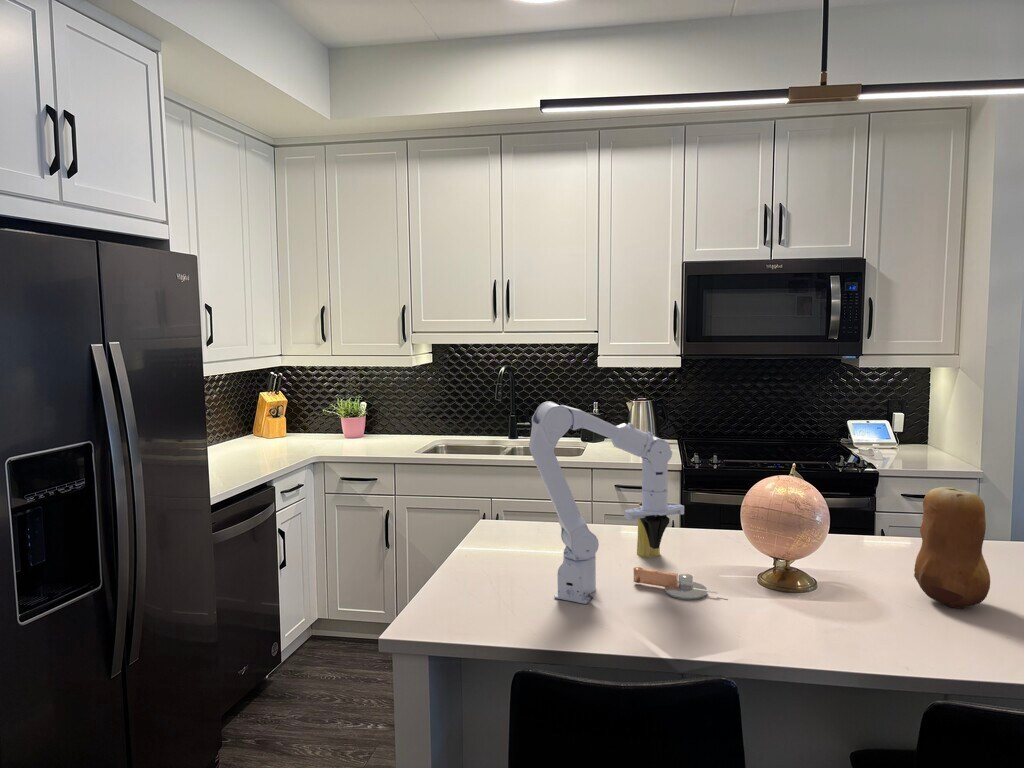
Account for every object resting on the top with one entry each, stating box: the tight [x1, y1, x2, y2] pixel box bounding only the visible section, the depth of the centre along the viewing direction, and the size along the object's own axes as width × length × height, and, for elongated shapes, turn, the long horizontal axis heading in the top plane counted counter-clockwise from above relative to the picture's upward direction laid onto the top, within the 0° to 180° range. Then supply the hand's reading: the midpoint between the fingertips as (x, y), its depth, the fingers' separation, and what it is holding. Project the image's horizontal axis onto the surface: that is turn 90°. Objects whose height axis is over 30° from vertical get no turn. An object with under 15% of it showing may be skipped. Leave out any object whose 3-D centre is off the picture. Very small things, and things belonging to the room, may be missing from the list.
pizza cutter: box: [633, 566, 719, 601], centre depth 163 cm, size 19×9×4 cm, turn 61°
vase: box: [636, 502, 661, 558], centre depth 188 cm, size 6×6×14 cm
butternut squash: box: [913, 486, 991, 610], centre depth 155 cm, size 14×13×25 cm
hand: (654, 547), depth 168 cm, fingers closed
